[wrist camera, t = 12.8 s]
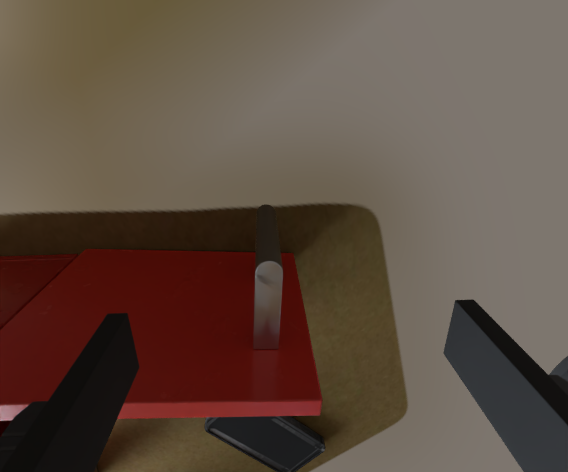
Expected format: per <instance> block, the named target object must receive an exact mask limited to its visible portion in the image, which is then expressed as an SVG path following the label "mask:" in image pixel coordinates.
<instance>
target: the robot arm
mask: <svg viewBox="0 0 568 472" xmlns="http://www.w3.org/2000/svg"><path fill="white" fill-rule="evenodd" d="M444 355H445V356H446V358H447V359H448V361H449V362H450V364H451V365H452V367H453V368H454V369H455V371H456V372H457V374H458V375H459V377H460V378H461V380H462V381H463V383H464V384H465V386H466V387H467V389H468V390H469V392H470V393H471V395H472V396H473V397H474V399H475V400H476V402H477V403H478V405H479V406H480V408H481V409H482V411H483V412H484V413H485V415H486V417H487V418H488V420H489V421H490V423H491V424H492V425H493V427H494V429H495V430H496V431H497V433H498V434H499V436H500V437H501V439H502V440H503V442H504V443H505V445H506V446H507V448H508V449H509V451H510V452H511V454H512V455H513V456H514V458H515V460H516V461H517V462H518V464H519V465H520V467H521V468H522V470H523V471H524V472H568V381H566V380H565V379H563V378H562V377H560V376H559V375H548V374H546V372H545V371H544V370H543V369H542V368H541V367H540V366H539V365H538V364H537V363H536V362H535V361H534V360H533V359H532V358H531V357H530V356H529V355H528V354H527V353H526V352H525V351H524V350H523V349H522V348H521V347H520V346H519V345H518V344H517V343H516V342H515V341H514V340H513V339H512V338H511V337H510V336H509V335H508V334H507V333H506V332H505V331H504V330H503V329H502V328H501V327H500V326H499V325H498V324H497V323H496V322H495V321H494V320H493V319H492V318H491V317H490V316H489V315H488V314H487V313H486V312H485V311H484V310H483V309H482V308H481V307H480V306H479V305H478V304H477V303H476V302H475V301H474V300H456V301H455V304H454V309H453V313H452V318H451V322H450V327H449V331H448V335H447V340H446V344H445V349H444ZM139 367H140V366H139V362H138V357H137V353H136V348H135V344H134V339H133V335H132V331H131V326H130V322H129V317H128V313H109V314H107V315H106V316H105V318H104V319H103V321H102V322H101V324H100V325H99V327H98V328H97V330H96V331H95V333H94V334H93V335H92V337H91V338H90V340H89V341H88V343H87V344H86V346H85V347H84V349H83V350H82V352H81V353H80V355H79V356H78V357H77V359H76V360H75V362H74V363H73V365H72V366H71V368H70V369H69V371H68V372H67V374H66V375H65V376H64V378H63V379H62V381H61V382H60V384H59V385H58V387H57V388H56V390H55V391H54V393H53V394H52V396H51V397H50V398H49V400H48V401H35V402H32V403H30V404H29V405H28V406H27V407H26V408H24V409H23V410H22V411H21V412H20V413H19V414H17V415H16V416H15V417H14V418H13V420H12V421H11V422H10V424H9V425H8V426H7V428H6V429H5V430H4V432H3V433H2V436H1V437H0V472H94V470H95V468H96V466H97V463H98V461H99V459H100V457H101V454H102V452H103V450H104V447H105V445H106V443H107V441H108V438H109V436H110V434H111V431H112V429H113V427H114V425H115V422H116V420H117V418H118V415H119V413H120V411H121V409H122V406H123V404H124V402H125V399H126V397H127V395H128V393H129V390H130V388H131V386H132V383H133V381H134V379H135V377H136V374H137V372H138V370H139Z"/></svg>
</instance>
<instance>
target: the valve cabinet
mask: <svg viewBox="0 0 568 472" xmlns="http://www.w3.org/2000/svg"><path fill="white" fill-rule="evenodd" d="M78 256H79V255H78V254H60V255H29V256H0V330H1V329H2V328H3V327H4V326H5V325H6V324H7V323H8V322H9V321H10V320H11V319H12V318H14V317H15V316H16V315H17V314H18V313H19V312H20V311H21V310H22V309H23V308H24V307H25V306H26V305H27V304H28V303H29V302H30V301H31V300H32V299H34V298H35V297H36V296H37V295H38V294H39V293H40V292H41V291H42V290H43V289H44V288H45V287H46V286H47V285H48V284H49V283H50V282H51V281H52V280H53V279H55V278H56V277H57V276H58V275H59V274H60V273H61V272H62V271H63V270H64V269H65V268H66V267H67V266H68V265H69V264H70V263H71V262H72V261H73V260H75V259H76V258H77V257H78ZM10 422H11V421H0V437H1V436H2V433H3V432H4V430H5V429H6V428H7V426H8V425H9V424H10Z"/></svg>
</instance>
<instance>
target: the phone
mask: <svg viewBox="0 0 568 472" xmlns="http://www.w3.org/2000/svg"><path fill="white" fill-rule="evenodd" d="M205 430H206V432H208V433H209V434H211V435H213V436H214V437H216V438H218V439H220V440H222V441H223V442H225V443H227V444H229V445H230V446H232V447H234V448H236V449H238V450H239V451H241V452H243V453H245V454H246V455H248V456H250V457H252V458H253V459H255V460H257V461H259V462H261V463H262V464H264V465H266V466H268V467H269V468H271V469H273V470H275V471H276V472H296V471H297V470H298V469H300V468H301V467H303V466H304V465H306V464H307V463H308V462H310V461H311V460H313V459H314V458H315V457H317V456H318V455H320V454H321V453H323V452H324V450H325V444H324V439H323V437H322V436H320V435H318V434H317V433H315V432H314V431H312V430H311V429H309V428H308V427H306V426H305V425H303V424H302V423H300V422H298V421H297V420H295V419H294V418H292V417H291V416H252V417H206V421H205Z"/></svg>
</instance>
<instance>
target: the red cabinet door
mask: <svg viewBox="0 0 568 472" xmlns="http://www.w3.org/2000/svg"><path fill="white" fill-rule="evenodd" d="M109 313H128V317H129V322H130V326H131V331H132V335H133V339H134V344H135V348H136V353H137V357H138V362H139V366H140V367H139V370H138V372H137V374H136V377H135V379H134V381H133V383H132V386H131V388H130V390H129V393H128V395H127V397H126V399H125V402H124V404H123V406H122V409H121V411H120V413H119V415H118V418H117V419H133V418H193V417H252V416H312V415H320V414H321V407H322V395H321V390H320V385H319V380H318V375H317V370H316V365H315V360H314V355H313V350H312V345H311V340H310V334H309V329H308V324H307V319H306V314H305V309H304V304H303V299H302V294H301V289H300V284H299V279H298V274H297V269H296V264H295V258H294V254H293V253H281V251H280V243H279V235H278V227H277V218H276V211H275V209H274V208H273V207H272V206H270V205H262V206H260V207H259V208H258V210H257V215H256V252H217V251H170V250H123V249H85V250H84V251H83V252H82V253H81V254H80V255H79V256H78V257H77V258H76V259H75V260H73V261H72V262H71V263H70V264H69V265H68V266H67V267H66V268H65V269H64V270H63V271H62V272H61V273H60V274H59V275H58V276H57V277H56V278H55V279H53V280H52V281H51V282H50V283H49V284H48V285H47V286H46V287H45V288H44V289H43V290H42V291H41V292H40V293H39V294H38V295H37V296H36V297H35V298H34V299H32V300H31V301H30V302H29V303H28V304H27V305H26V306H25V307H24V308H23V309H22V310H21V311H20V312H19V313H18V314H17V315H16V316H15V317H14V318H12V319H11V320H10V321H9V322H8V323H7V324H6V325H5V326H4V327H3V328H2V329H1V330H0V421H12V420H13V418H14V417H15V416H16V415H17V414H19V413H20V412H21V411H22V410H23V409H24V408H26V407H27V406H28V405H29V404H30V403H32V402H35V401H48V400H49V398H50V397H51V396H52V394H53V393H54V391H55V390H56V388H57V387H58V385H59V384H60V382H61V381H62V379H63V378H64V376H65V375H66V374H67V372H68V371H69V369H70V368H71V366H72V365H73V363H74V362H75V360H76V359H77V357H78V356H79V355H80V353H81V352H82V350H83V349H84V347H85V346H86V344H87V343H88V341H89V340H90V338H91V337H92V335H93V334H94V333H95V331H96V330H97V328H98V327H99V325H100V324H101V322H102V321H103V319H104V318H105V316H106V315H107V314H109Z"/></svg>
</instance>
